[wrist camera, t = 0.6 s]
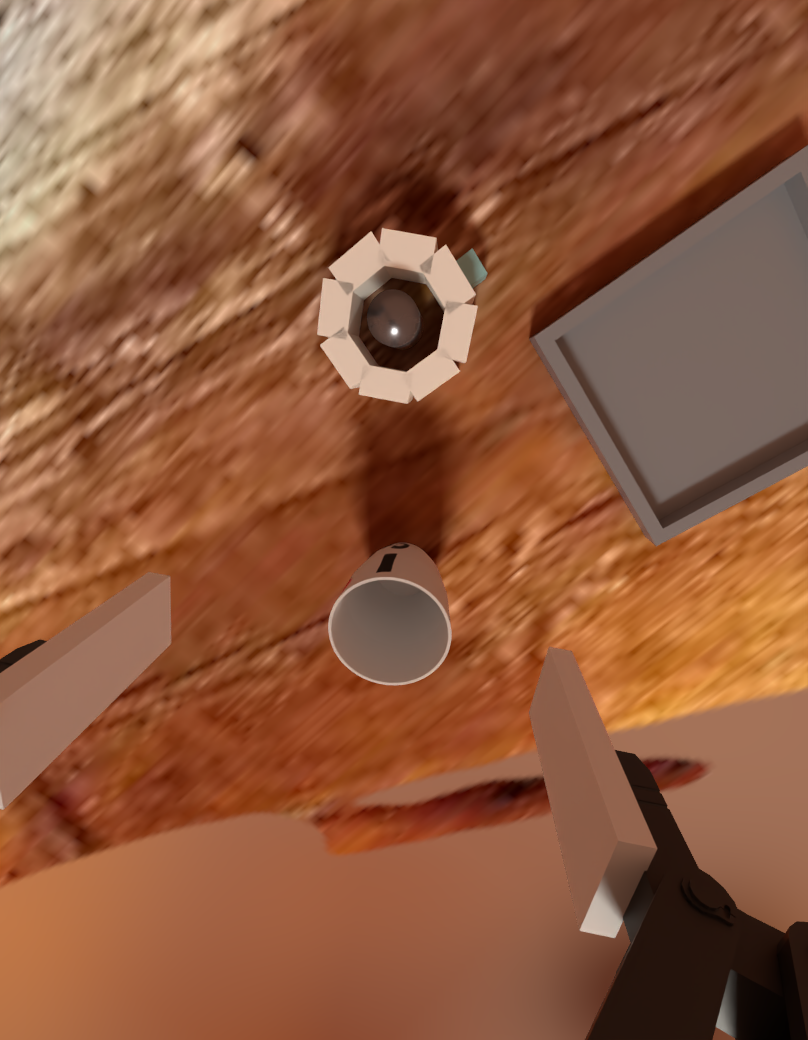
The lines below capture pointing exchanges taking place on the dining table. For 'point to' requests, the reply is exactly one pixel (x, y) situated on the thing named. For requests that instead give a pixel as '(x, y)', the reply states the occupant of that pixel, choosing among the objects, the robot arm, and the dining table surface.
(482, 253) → the dining table surface
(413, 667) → the cup
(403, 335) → the capsule
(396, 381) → the ring
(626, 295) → the tray
